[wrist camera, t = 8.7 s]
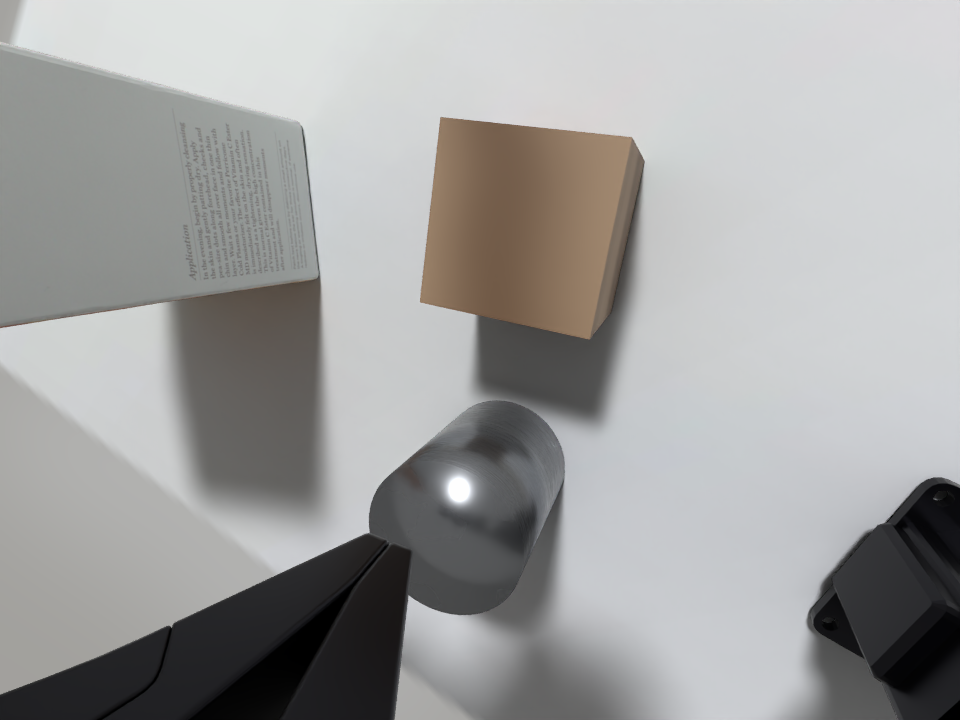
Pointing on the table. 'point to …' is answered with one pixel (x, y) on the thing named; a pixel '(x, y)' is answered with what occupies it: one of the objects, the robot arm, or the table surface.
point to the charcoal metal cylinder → (472, 505)
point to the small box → (139, 193)
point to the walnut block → (529, 223)
